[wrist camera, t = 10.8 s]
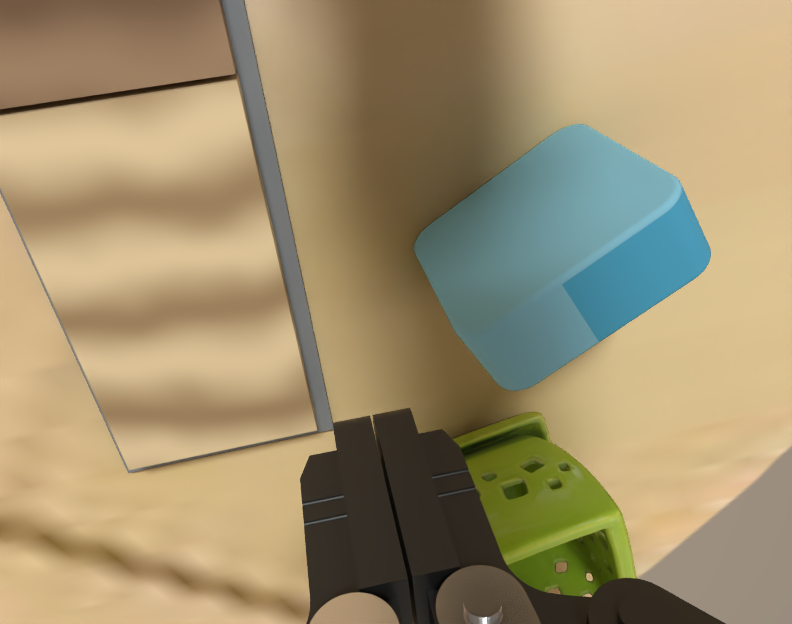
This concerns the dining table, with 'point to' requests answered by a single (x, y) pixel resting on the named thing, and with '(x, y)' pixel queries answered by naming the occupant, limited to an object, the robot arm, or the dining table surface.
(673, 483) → the dining table surface
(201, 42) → the walnut plank
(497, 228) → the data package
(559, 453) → the flower pot
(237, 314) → the oak plank
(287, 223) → the underlay
